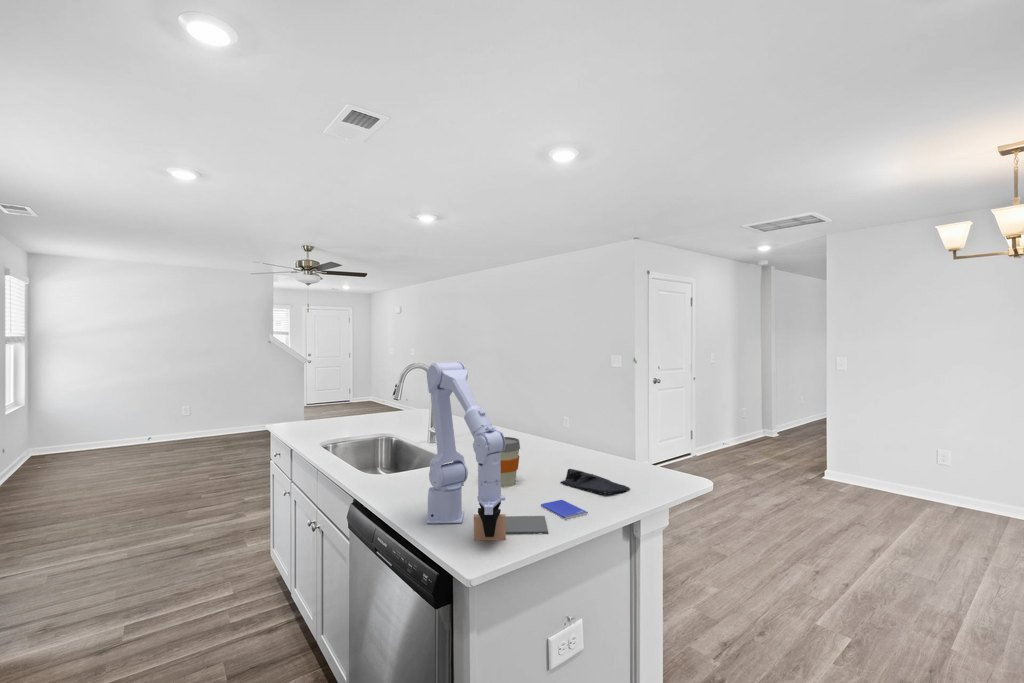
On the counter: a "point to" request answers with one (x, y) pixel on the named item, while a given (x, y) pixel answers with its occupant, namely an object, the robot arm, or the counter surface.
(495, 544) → the counter surface
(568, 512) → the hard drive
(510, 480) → the reusable coffee cup
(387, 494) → the counter surface
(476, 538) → the tile
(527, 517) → the mat
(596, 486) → the dark slate chunk
